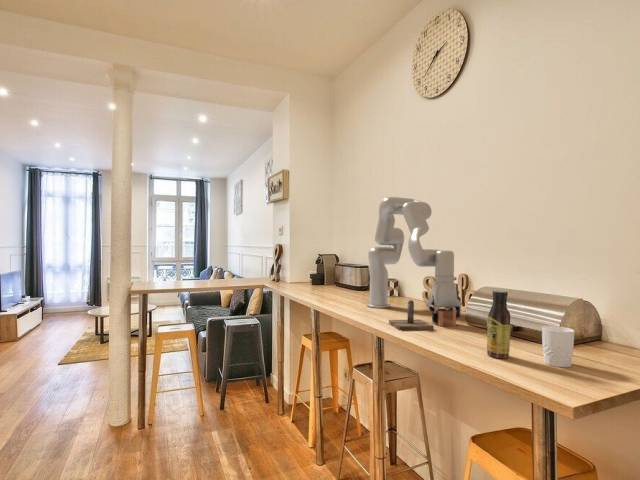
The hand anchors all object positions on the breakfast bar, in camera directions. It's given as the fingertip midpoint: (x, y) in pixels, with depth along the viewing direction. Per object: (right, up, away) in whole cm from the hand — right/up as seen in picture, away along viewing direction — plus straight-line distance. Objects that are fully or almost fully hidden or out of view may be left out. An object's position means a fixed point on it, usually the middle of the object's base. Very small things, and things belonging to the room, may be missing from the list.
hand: (443, 321), depth 154 cm
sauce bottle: (+2, -1, -43) cm, 43 cm away
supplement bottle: (+10, -1, +18) cm, 21 cm away
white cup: (+16, -1, -49) cm, 52 cm away
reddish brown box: (0, -1, 0) cm, 1 cm away
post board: (-15, -1, -5) cm, 16 cm away
